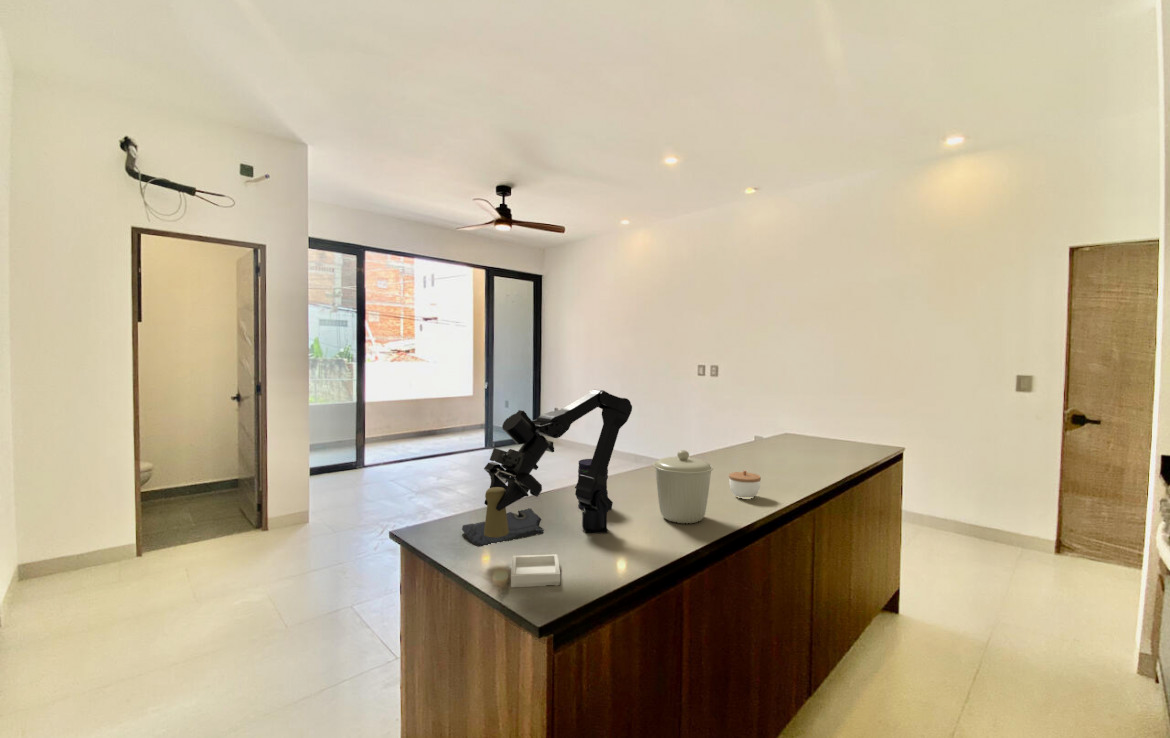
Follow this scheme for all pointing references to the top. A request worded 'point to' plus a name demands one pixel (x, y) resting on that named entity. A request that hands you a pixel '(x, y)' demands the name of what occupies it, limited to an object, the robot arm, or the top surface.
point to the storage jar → (583, 469)
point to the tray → (535, 570)
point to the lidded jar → (744, 484)
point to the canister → (683, 487)
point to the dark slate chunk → (517, 525)
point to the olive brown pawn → (495, 514)
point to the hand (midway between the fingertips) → (491, 507)
